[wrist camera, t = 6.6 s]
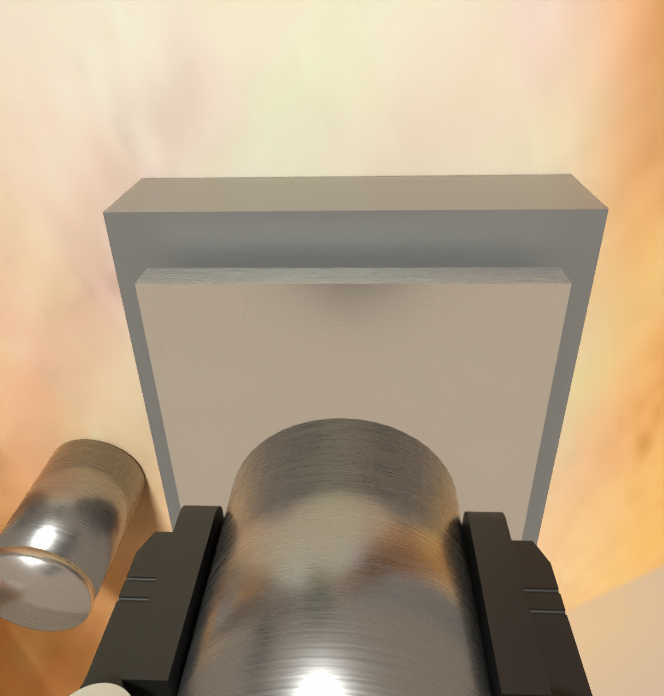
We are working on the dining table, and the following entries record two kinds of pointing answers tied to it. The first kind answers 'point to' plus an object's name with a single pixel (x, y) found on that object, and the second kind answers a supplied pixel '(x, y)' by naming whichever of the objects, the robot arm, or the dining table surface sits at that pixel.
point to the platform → (357, 366)
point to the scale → (362, 251)
